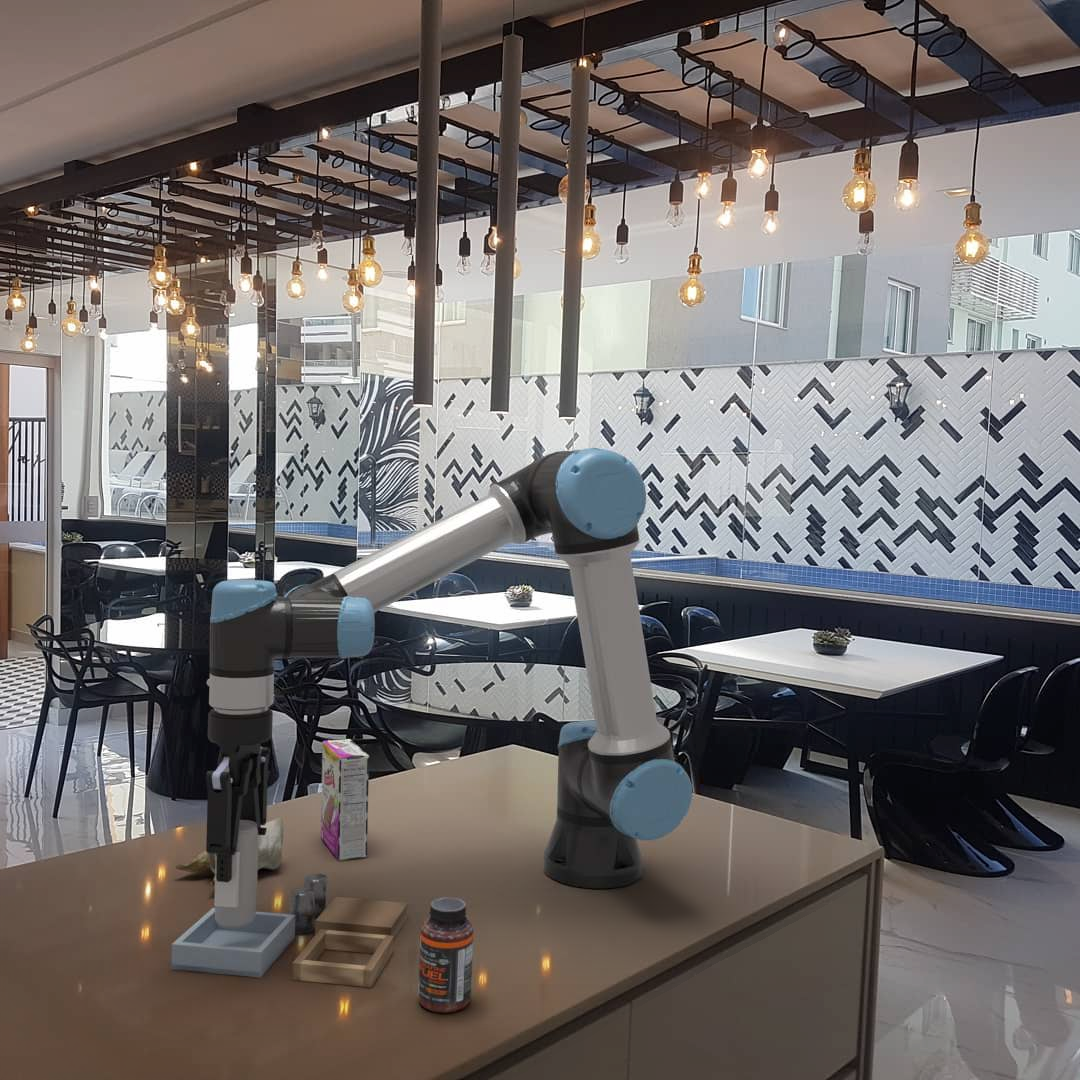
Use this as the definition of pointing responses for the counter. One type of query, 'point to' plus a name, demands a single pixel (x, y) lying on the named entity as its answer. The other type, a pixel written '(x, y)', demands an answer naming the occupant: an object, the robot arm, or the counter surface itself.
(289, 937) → the tray
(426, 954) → the supplement bottle
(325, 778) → the candy bar box
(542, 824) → the counter surface
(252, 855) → the beverage can
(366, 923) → the board
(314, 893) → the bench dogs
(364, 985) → the collar
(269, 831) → the ceramic sculpture
